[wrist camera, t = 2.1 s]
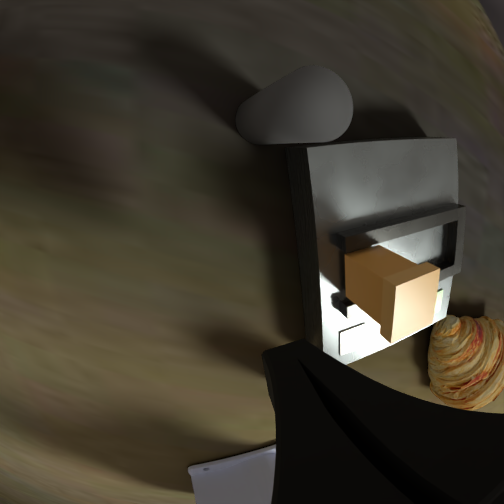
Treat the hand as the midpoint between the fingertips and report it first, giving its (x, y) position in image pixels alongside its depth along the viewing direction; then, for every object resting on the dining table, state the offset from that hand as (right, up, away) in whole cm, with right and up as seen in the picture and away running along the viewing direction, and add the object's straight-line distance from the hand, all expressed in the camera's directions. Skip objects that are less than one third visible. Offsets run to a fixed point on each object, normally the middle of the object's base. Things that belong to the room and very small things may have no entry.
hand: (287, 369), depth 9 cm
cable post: (-1, +10, +5) cm, 11 cm away
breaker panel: (+6, +4, +8) cm, 11 cm away
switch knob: (+4, +3, +6) cm, 8 cm away
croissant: (+21, -7, +17) cm, 27 cm away
